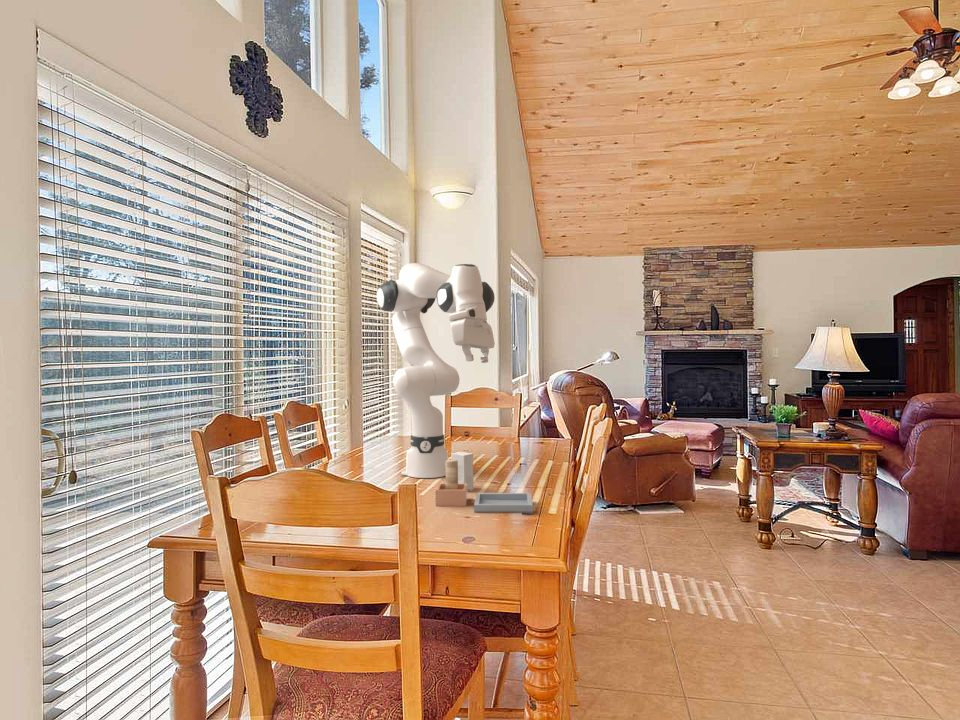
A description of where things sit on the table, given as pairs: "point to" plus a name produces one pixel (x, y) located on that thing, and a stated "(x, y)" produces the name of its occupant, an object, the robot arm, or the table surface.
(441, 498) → the terracotta open box
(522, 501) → the slate tray
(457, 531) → the table surface
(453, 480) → the translucent grey tall block
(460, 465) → the skincare box
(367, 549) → the table surface
